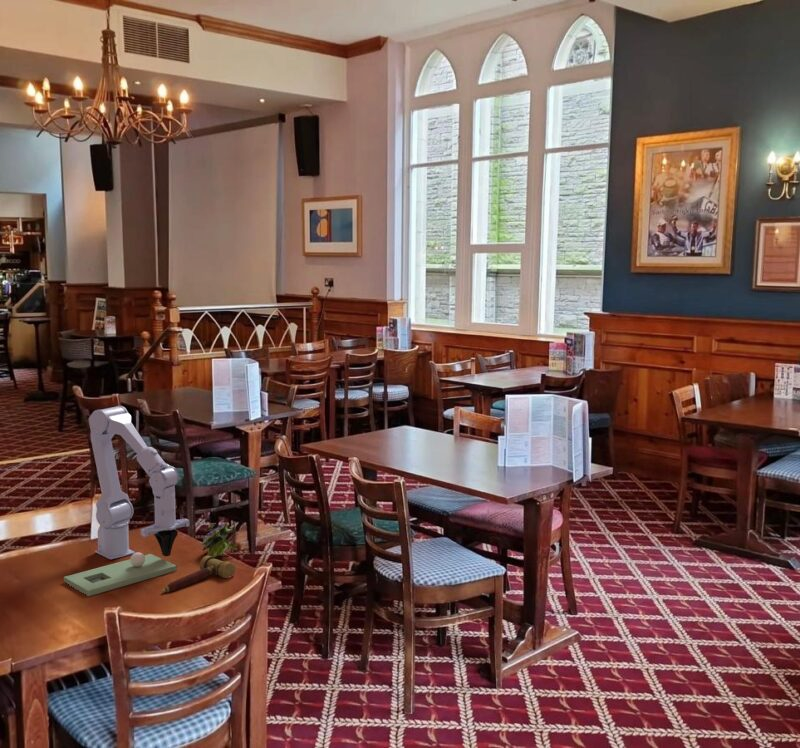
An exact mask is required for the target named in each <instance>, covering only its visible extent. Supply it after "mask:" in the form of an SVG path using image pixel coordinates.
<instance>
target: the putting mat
mask: <svg viewBox="0 0 800 748" xmlns="http://www.w3.org/2000/svg"><path fill="white" fill-rule="evenodd" d="M143 555H144V554H143ZM144 556H145V562H144V564H143V565H142V566H140V567H135V566H133V565H132V564H131V562H130V558H129V559H126V560H122V561H118V562H115V563H112V564H107V565H103V566H99V567H97V568H93V569H87V570H85V571H81V572H76V573H73V574H70V575H66V576H63V583H64V582H66V583H67V584H66V583H65V584H66V585H68V584H69V585H68V586H70V587H71V586H72V587H71V588H73V587H74V588H73V589H75V590H77V591H78V590H79V591H78V592H80V593H82V594H83V593H84V594H83V595H85V594H86V595H85V596H87V597H90V596H95V595H98V594H101V593H104V592H109V591H111V590H115V589H118V588H122V587H124V586H128V585H132V584H135V583H139V582H142V581H146V580H149V579H153V578H156V577H159V576H162V575H166V574H169V573H174V572H176V571H178V570H177V567H178V566H177V565H176V564H174V563H172V562H169V561H167V560H166V559H163V558H162V557H159V556H156V555H154V554H152V553H148V554H145V555H144Z"/></svg>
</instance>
